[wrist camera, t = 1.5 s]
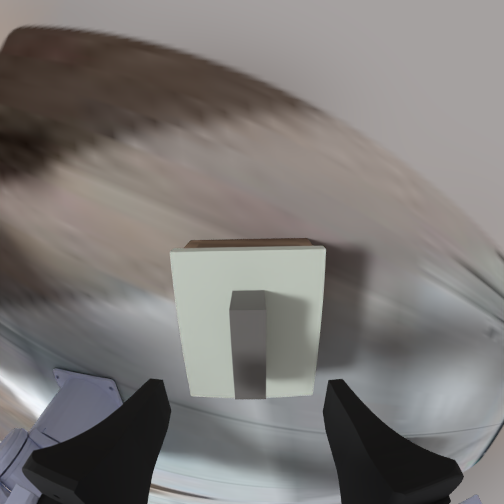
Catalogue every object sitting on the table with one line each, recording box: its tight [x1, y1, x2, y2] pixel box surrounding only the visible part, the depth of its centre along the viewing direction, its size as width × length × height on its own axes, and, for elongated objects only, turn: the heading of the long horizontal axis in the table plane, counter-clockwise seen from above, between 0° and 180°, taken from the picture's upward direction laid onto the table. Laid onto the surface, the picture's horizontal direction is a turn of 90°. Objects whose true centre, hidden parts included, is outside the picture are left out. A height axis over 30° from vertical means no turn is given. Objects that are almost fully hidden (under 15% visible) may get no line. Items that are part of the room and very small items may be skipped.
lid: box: [170, 246, 326, 399], centre depth 16 cm, size 11×9×3 cm
